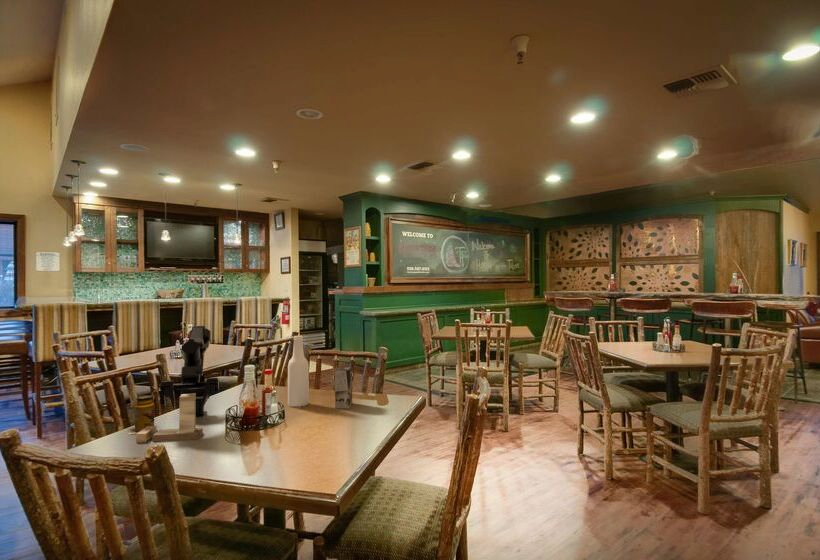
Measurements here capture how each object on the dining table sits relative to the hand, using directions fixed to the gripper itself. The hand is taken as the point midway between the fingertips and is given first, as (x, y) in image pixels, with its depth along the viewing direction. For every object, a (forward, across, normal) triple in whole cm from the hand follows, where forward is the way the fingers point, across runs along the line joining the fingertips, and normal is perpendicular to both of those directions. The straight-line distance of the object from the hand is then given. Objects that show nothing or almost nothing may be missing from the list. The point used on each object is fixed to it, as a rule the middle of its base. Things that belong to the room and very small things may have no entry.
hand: (188, 407), depth 153 cm
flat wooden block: (+8, -3, +6) cm, 10 cm away
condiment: (-2, -16, +16) cm, 23 cm away
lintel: (+6, -13, +8) cm, 16 cm away
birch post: (+6, 0, +4) cm, 8 cm away
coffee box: (-6, +59, +20) cm, 62 cm away
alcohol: (-12, +40, +26) cm, 50 cm away
